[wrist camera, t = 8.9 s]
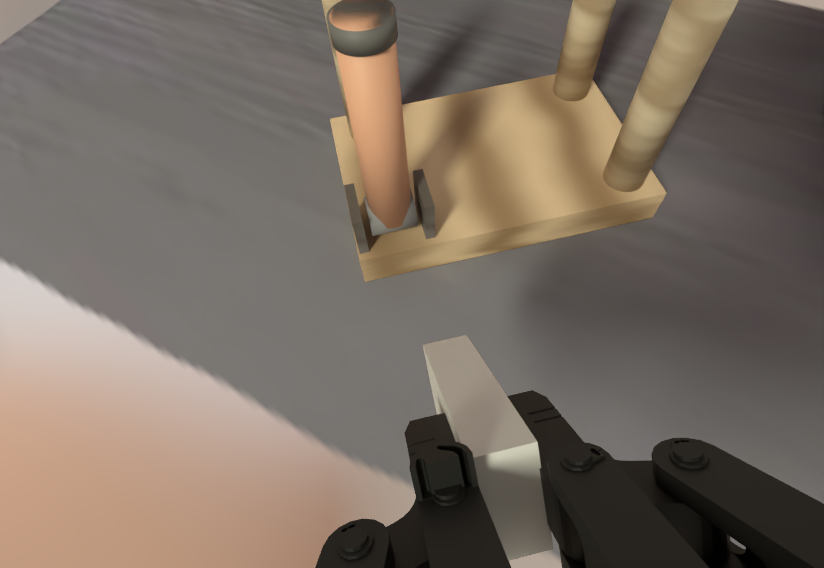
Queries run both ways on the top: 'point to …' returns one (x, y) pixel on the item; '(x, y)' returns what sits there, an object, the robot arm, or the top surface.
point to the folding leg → (375, 108)
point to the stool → (534, 148)
